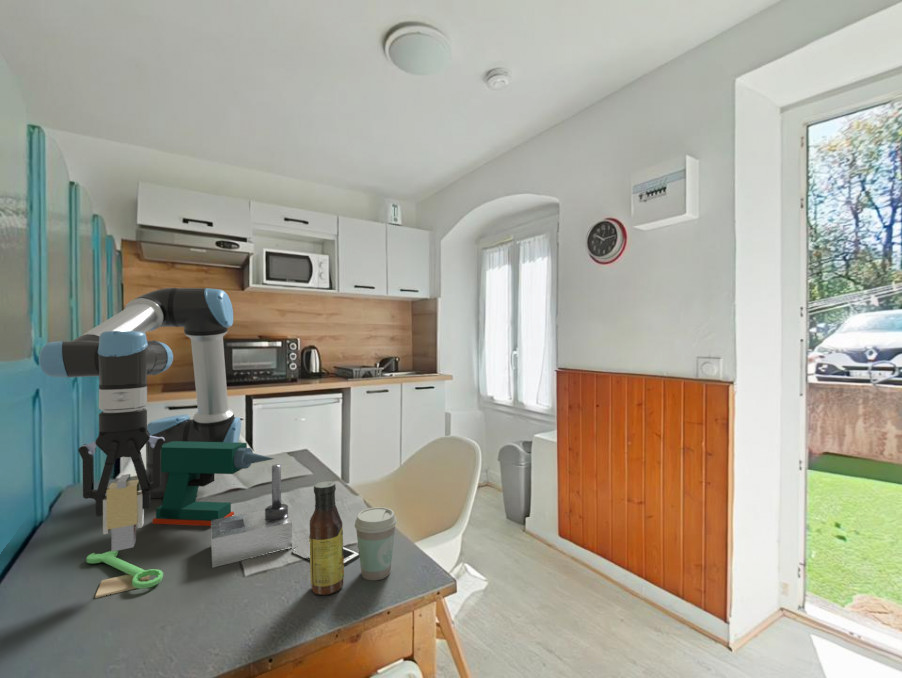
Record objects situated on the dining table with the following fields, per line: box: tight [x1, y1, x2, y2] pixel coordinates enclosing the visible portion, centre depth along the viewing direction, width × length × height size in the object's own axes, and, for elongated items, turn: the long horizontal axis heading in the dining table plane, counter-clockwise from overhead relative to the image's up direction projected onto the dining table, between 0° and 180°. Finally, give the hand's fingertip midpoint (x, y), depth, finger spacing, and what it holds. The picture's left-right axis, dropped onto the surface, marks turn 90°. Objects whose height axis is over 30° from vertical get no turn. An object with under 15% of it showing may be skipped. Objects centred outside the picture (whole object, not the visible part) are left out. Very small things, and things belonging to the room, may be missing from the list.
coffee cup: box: [354, 506, 398, 581], centre depth 88 cm, size 8×8×12 cm
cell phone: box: [292, 545, 360, 567], centre depth 96 cm, size 8×15×1 cm, turn 56°
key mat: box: [94, 574, 151, 599], centre depth 84 cm, size 6×8×1 cm
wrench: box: [86, 550, 164, 589], centre depth 89 cm, size 25×2×5 cm
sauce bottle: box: [308, 480, 345, 596], centre depth 83 cm, size 7×6×20 cm
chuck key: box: [106, 473, 140, 552], centre depth 84 cm, size 6×5×13 cm
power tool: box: [152, 441, 275, 527], centre depth 114 cm, size 32×7×20 cm, turn 84°
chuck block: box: [210, 463, 293, 568], centre depth 99 cm, size 11×16×18 cm
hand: (124, 528), depth 84 cm, fingers closed on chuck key, 5 cm apart
